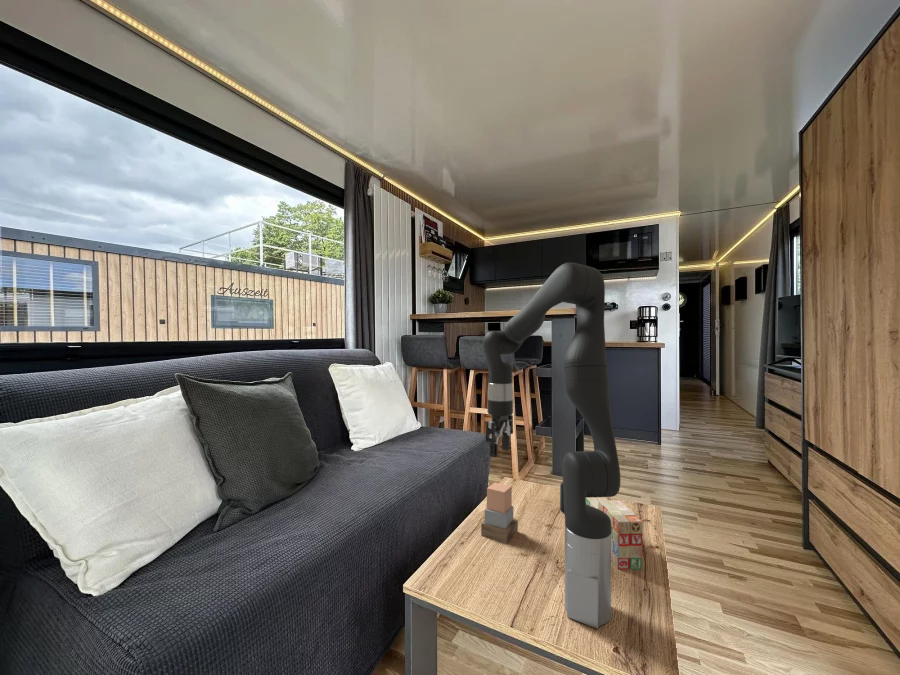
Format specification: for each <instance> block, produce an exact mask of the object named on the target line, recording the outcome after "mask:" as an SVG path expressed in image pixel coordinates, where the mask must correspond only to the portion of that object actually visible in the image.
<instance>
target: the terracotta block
mask: <svg viewBox="0 0 900 675" xmlns="http://www.w3.org/2000/svg"><path fill="white" fill-rule="evenodd" d="M512 492H513V490H512V485H509V484H504V483H499V482H493V483H492V484H491V485H489V486H488V487H487V488H486V508H487V509H489V510H493V511H497V512H501V513H505V512H506V511H507V510H508V509H509V508H510V507H511V506H513V505H512V504H513V502H512V501H513V500H512V498H513V496H512V494H513V493H512Z"/></svg>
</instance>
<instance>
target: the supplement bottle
mask: <svg viewBox="0 0 900 675" xmlns="http://www.w3.org/2000/svg"><path fill="white" fill-rule="evenodd" d="M559 510H560V511H561V513H563V515H565V513H564V493H563V481H562V482H561V483H560V486H559Z"/></svg>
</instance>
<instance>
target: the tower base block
mask: <svg viewBox="0 0 900 675" xmlns="http://www.w3.org/2000/svg"><path fill="white" fill-rule="evenodd" d="M480 525H481V527H480V528H481V529H480V532H481V533H480V536H482V537H485V538H487V539H491V540H493V541H496V542H499V543H503V544H505V545H507V544H508V543H509V542H510V541H511V540H512V539H513V538H514V536H516V535H517V533H518V530H519V519H517V518H514V517H513V521H512V522H511V523H510V524H509V526H508V527H507V528H506V529H504V528H500V527H496V526H492V525H488V524H485V519H484V520H483V521H482V522H481V524H480Z"/></svg>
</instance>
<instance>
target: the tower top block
mask: <svg viewBox="0 0 900 675" xmlns="http://www.w3.org/2000/svg"><path fill="white" fill-rule="evenodd" d="M513 518H514V505H512V506H511V507H510V508H509V509H508V510H507V511H506V512H505V513H501V512H497V511H493V510H489V509H487V507H486V508H484V520H485V524H488V525H492V526H496V527H500V528H504V529H506V528H507V527H508V526H509V524H510V523H511V522H512V521H513Z"/></svg>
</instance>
